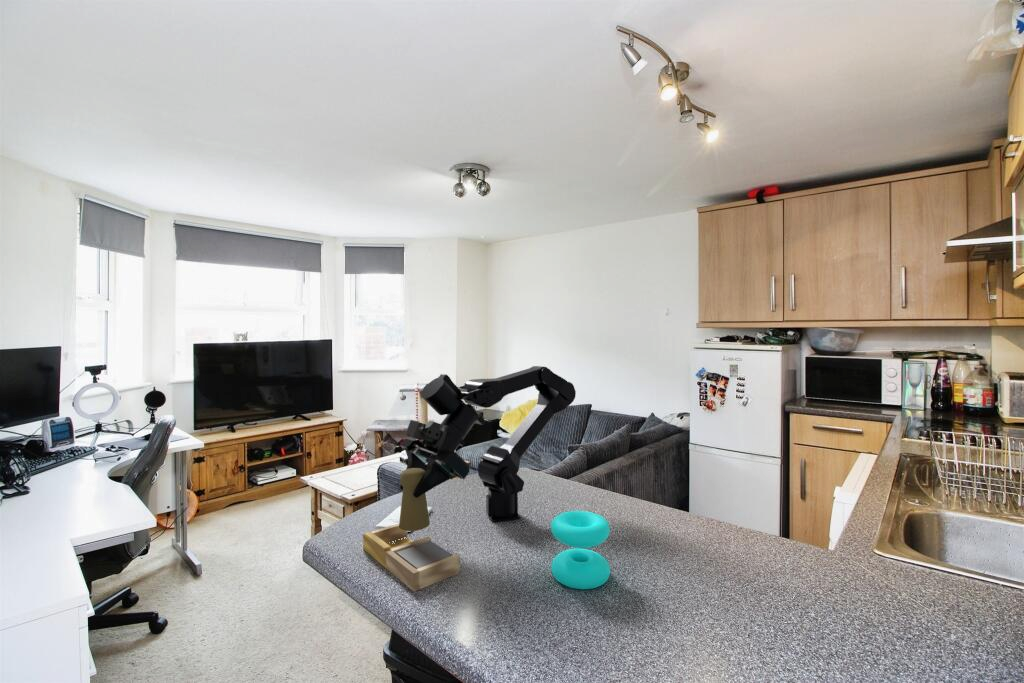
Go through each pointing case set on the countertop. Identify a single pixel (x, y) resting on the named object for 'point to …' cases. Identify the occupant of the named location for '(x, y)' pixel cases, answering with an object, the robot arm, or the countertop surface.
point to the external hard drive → (393, 518)
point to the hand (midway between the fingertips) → (407, 493)
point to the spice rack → (410, 557)
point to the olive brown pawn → (413, 502)
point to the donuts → (580, 549)
